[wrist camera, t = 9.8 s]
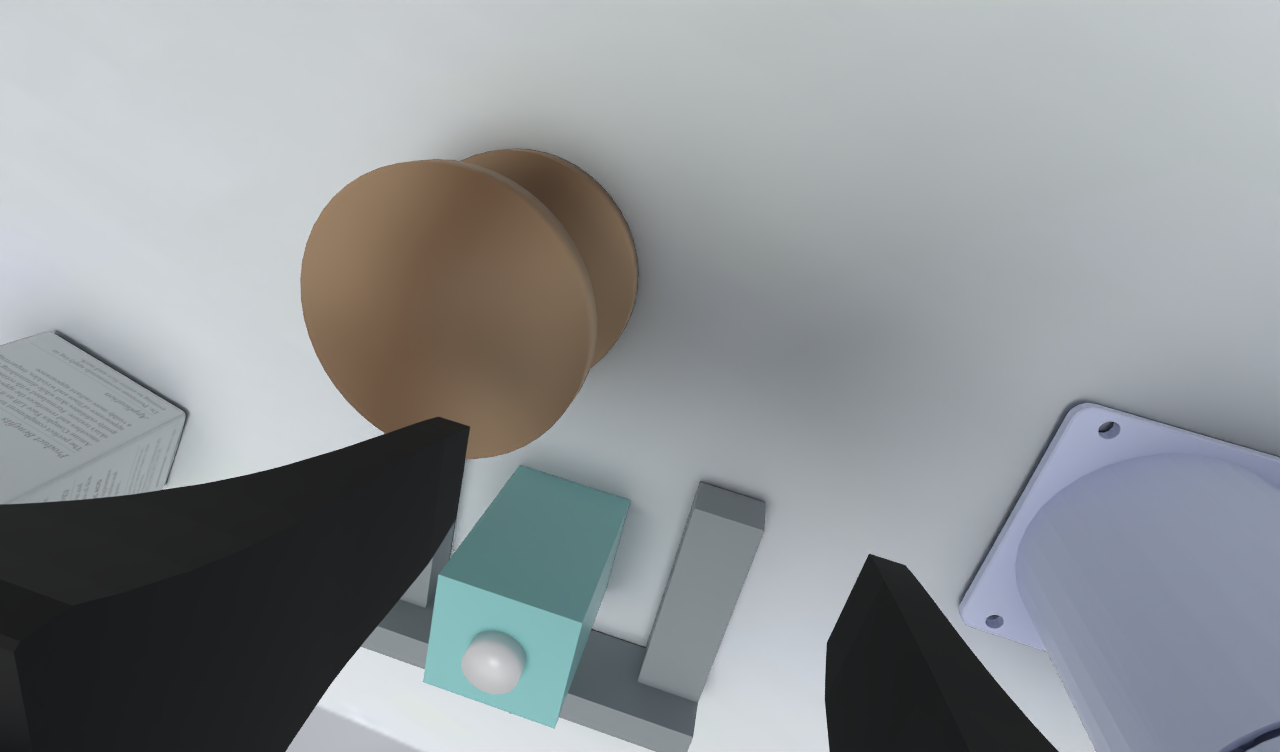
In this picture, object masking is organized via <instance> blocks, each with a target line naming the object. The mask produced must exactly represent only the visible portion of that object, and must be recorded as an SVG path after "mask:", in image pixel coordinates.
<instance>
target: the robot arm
mask: <svg viewBox="0 0 1280 752" xmlns="http://www.w3.org/2000/svg"><path fill="white" fill-rule="evenodd" d="M1109 421H1110V422H1114V424H1113V427H1112V428H1111V429H1110V430H1109V431H1107V432H1104V433H1100V432H1098V430H1099V427H1100V426H1101V425H1102V424H1103V423H1106V422H1109ZM469 432H470V426H467V425H464V424H461V423H458V422H455V421H451V420H448V419H445V418H442V417H435V418H431V419H427V420H424V421H421V422H418V423H415V424H412V425H409V426H406V427H403V428H401V429H398V430H395V431H392V432H389V433H386V434H384V435H381V436H378V437H375V438H372V439H369V440H366V441H363V442H360V443H357V444H354V445H351V446H348V447H345V448H342V449H339V450H336V451H333V452H329V453H326V454H323V455H319V456H316V457H312V458H309V459H306V460H302V461H299V462H295V463H292V464H289V465H285V466H282V467H278V468H274V469H270V470H266V471H262V472H258V473H253V474H249V475H244V476H240V477H235V478H230V479H225V480H221V481H216V482H210V483H205V484H200V485H193V486H186V487H179V488H172V489H166V490H159V491H152V492H145V493H139V494H132V495H123V496H114V497H104V498H93V499H83V500H70V501H56V502H42V503H24V504H0V752H285V751H286V750H287V748H288V746H289V745H290V744H291V742H292V740H293V739H294V737H295V736H296V735H297V733H298V731H299V730H300V728H301V727H302V726H303V724H304V723H305V721H306V720H307V718H308V717H309V715H310V714H311V712H312V711H313V709H314V708H315V706H316V705H317V703H318V702H319V700H320V699H321V698H322V696H323V695H324V693H325V692H326V690H327V689H328V687H329V686H330V684H331V683H332V682H333V680H334V679H335V678H336V677H337V675H338V674H339V673H340V671H341V670H342V669H343V667H344V666H345V665H346V663H347V662H348V661H349V660H350V659H351V657H352V656H353V655H354V654H355V653H356V651H357V650H358V649H359V648H360V646H361V645H362V644H363V643H364V642H365V640H366V639H367V638H368V637H369V636H370V634H371V633H372V632H373V631H374V630H375V628H376V627H377V626H378V625H379V624H380V622H381V621H382V620H383V619H384V618H385V616H386V615H387V614H388V613H389V612H390V610H391V609H392V608H393V607H394V606H395V604H396V603H397V602H398V601H399V600H400V598H401V597H402V596H403V595H404V593H405V592H406V591H407V590H408V589H409V587H410V586H411V585H412V584H413V582H414V581H415V580H416V579H417V578H418V576H419V575H420V574H421V573H422V571H423V570H424V569H425V568H426V566H427V565H428V564H429V562H430V561H431V559H432V557H433V556H434V554H435V553H436V551H437V550H438V548H439V547H440V545H441V543H442V542H443V540H444V538H445V537H446V535H447V533H448V532H449V530H450V529H451V527H452V525H453V524H454V522H455V520H456V516H457V510H458V503H459V497H460V490H461V484H462V477H463V471H464V464H465V458H466V451H467V445H468V438H469ZM959 612H960V616H961V618H962V621H963V622H964V623H965V624H966V625H968V626H970V627H972V628H975V629H978V630H981V631H984V632H988V633H991V634H994V635H997V636H1000V637H1003V638H1006V639H1009V640H1012V641H1015V642H1018V643H1021V644H1025V645H1028V646H1031V647H1034V648H1037V649H1040V650H1043V651H1046V652H1047V653H1048V655H1049V657H1050V659H1051V661H1052V663H1053V665H1054V667H1055V669H1056V671H1057V673H1058V675H1059V677H1060V679H1061V681H1062V683H1063V685H1064V687H1065V689H1066V691H1067V693H1068V695H1069V697H1070V699H1071V701H1072V703H1073V705H1074V707H1075V709H1076V711H1077V714H1078V716H1079V718H1080V720H1081V722H1082V724H1083V726H1084V728H1085V730H1086V732H1087V734H1088V736H1089V738H1090V740H1091V742H1092V744H1093V746H1094V748H1095V750H1096V752H1280V457H1277V456H1273V455H1270V454H1266V453H1263V452H1259V451H1256V450H1252V449H1249V448H1245V447H1242V446H1239V445H1235V444H1232V443H1228V442H1225V441H1221V440H1218V439H1214V438H1211V437H1208V436H1204V435H1201V434H1197V433H1194V432H1190V431H1187V430H1183V429H1180V428H1177V427H1173V426H1170V425H1166V424H1163V423H1159V422H1156V421H1152V420H1149V419H1145V418H1142V417H1139V416H1135V415H1132V414H1128V413H1125V412H1121V411H1118V410H1114V409H1111V408H1108V407H1104V406H1101V405H1097V404H1093V403H1084V404H1079V405H1077V406H1075V407H1074V408H1072V409H1071V410H1070V411H1069V412H1068V414H1067V415H1066V417H1065V419H1064V420H1063V422H1062V424H1061V426H1060V428H1059V429H1058V431H1057V433H1056V435H1055V436H1054V438H1053V440H1052V442H1051V443H1050V445H1049V447H1048V449H1047V451H1046V452H1045V454H1044V456H1043V458H1042V459H1041V461H1040V463H1039V465H1038V467H1037V468H1036V470H1035V472H1034V474H1033V475H1032V477H1031V479H1030V481H1029V483H1028V484H1027V486H1026V488H1025V490H1024V491H1023V493H1022V495H1021V497H1020V498H1019V500H1018V502H1017V504H1016V506H1015V507H1014V509H1013V511H1012V513H1011V514H1010V516H1009V518H1008V520H1007V522H1006V523H1005V525H1004V527H1003V529H1002V530H1001V532H1000V534H999V536H998V537H997V539H996V541H995V543H994V545H993V546H992V548H991V550H990V552H989V553H988V555H987V557H986V559H985V561H984V562H983V564H982V566H981V568H980V569H979V571H978V573H977V575H976V576H975V578H974V580H973V582H972V584H971V585H970V587H969V589H968V591H967V592H966V594H965V596H964V598H963V600H962V601H961V603H960V606H959ZM991 615H999V617H997V618H996V619H993V620H989V619H986V618H987V617H989V616H991ZM825 706H826V717H827V728H828V738H829V749H830V752H1059V751H1058V750H1057V749H1056V748H1055V747H1054V746H1053V745H1052V744H1051V743H1050V742H1049V741H1048V740H1047V739H1046V738H1045V737H1044V736H1043V734H1042V733H1041V732H1040V731H1039V730H1038V729H1037V728H1036V727H1035V726H1034V725H1033V724H1032V722H1031V721H1030V720H1029V719H1028V718H1027V717H1026V716H1025V714H1024V713H1023V712H1022V711H1021V710H1020V709H1019V707H1018V706H1017V705H1016V704H1015V703H1014V702H1013V700H1012V699H1011V698H1010V697H1009V696H1008V695H1007V693H1006V692H1005V691H1004V690H1003V689H1002V688H1001V686H1000V685H999V684H998V683H997V682H996V680H995V679H994V678H993V677H992V676H991V674H990V673H989V672H988V671H987V669H986V668H985V667H984V666H983V664H982V663H981V662H980V661H979V659H978V658H977V657H976V656H975V654H974V653H973V652H972V651H971V649H970V648H969V647H968V645H967V644H966V643H965V642H964V640H963V639H962V638H961V636H960V635H959V634H958V632H957V631H956V630H955V629H954V627H953V626H952V625H951V623H950V622H949V621H948V619H947V618H946V617H945V615H944V614H943V613H942V611H941V610H940V609H939V607H938V606H937V605H936V603H935V602H934V601H933V599H932V598H931V597H930V595H929V594H928V593H927V592H926V590H925V589H924V588H923V586H922V585H921V584H920V582H919V581H918V580H917V579H916V577H915V576H914V575H913V574H912V573H911V571H910V570H909V569H908V568H907V567H906V566H905V565H903V564H900V563H896V562H893V561H890V560H887V559H884V558H881V557H878V556H875V555H871V554H869V555H868V557H867V559H866V561H865V564H864V566H863V568H862V570H861V572H860V574H859V576H858V578H857V581H856V583H855V585H854V587H853V589H852V591H851V593H850V595H849V597H848V600H847V602H846V604H845V606H844V608H843V610H842V612H841V614H840V616H839V619H838V621H837V623H836V625H835V627H834V629H833V631H832V633H831V635H830V638H829V640H828V642H827V652H826V674H825Z"/></svg>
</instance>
